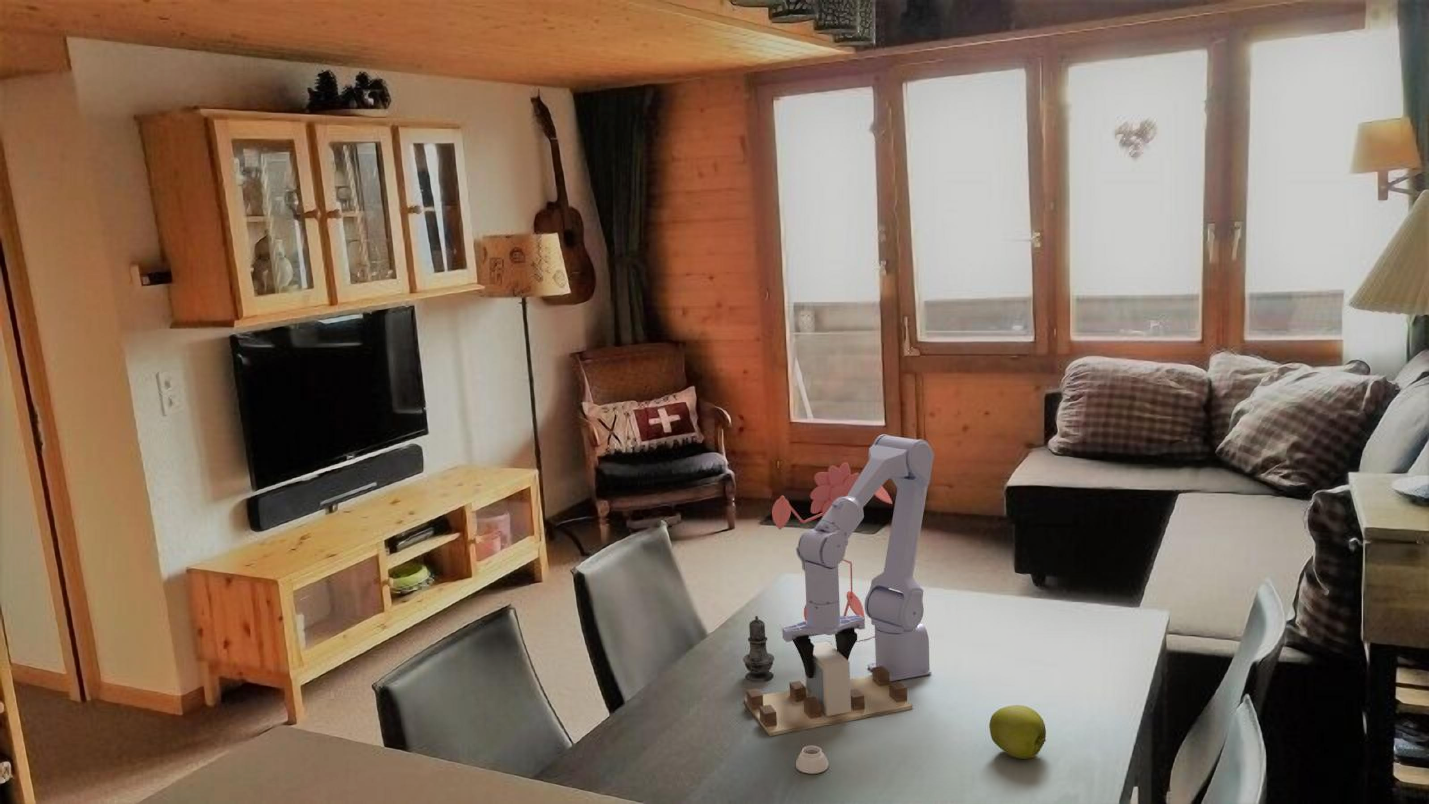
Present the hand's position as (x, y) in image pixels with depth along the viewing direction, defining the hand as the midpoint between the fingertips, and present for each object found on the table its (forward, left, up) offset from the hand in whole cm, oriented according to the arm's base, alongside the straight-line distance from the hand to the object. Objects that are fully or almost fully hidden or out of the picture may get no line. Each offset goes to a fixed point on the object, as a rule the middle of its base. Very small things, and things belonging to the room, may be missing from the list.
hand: (825, 673), depth 191 cm
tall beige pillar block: (0, 0, -5) cm, 5 cm away
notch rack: (0, 0, -6) cm, 6 cm away
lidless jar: (+10, +19, -6) cm, 23 cm away
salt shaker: (+7, -16, -6) cm, 18 cm away
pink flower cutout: (-16, -31, -6) cm, 35 cm away
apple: (-21, +28, -6) cm, 36 cm away
